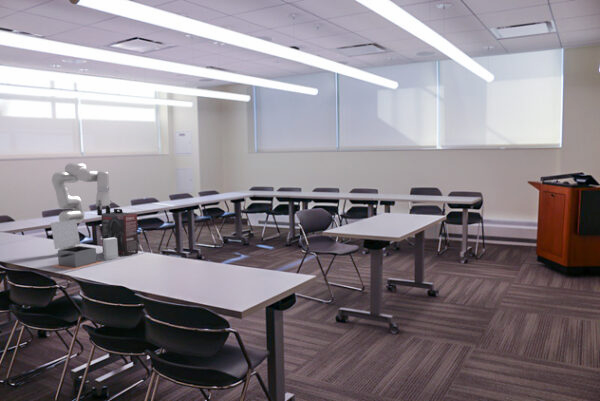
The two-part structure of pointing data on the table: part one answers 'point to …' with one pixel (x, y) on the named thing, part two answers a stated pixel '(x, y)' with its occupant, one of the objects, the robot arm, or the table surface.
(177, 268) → the table surface
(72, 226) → the lid
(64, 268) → the trivet mat
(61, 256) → the gray storage bin
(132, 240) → the headset box
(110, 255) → the skincare box
